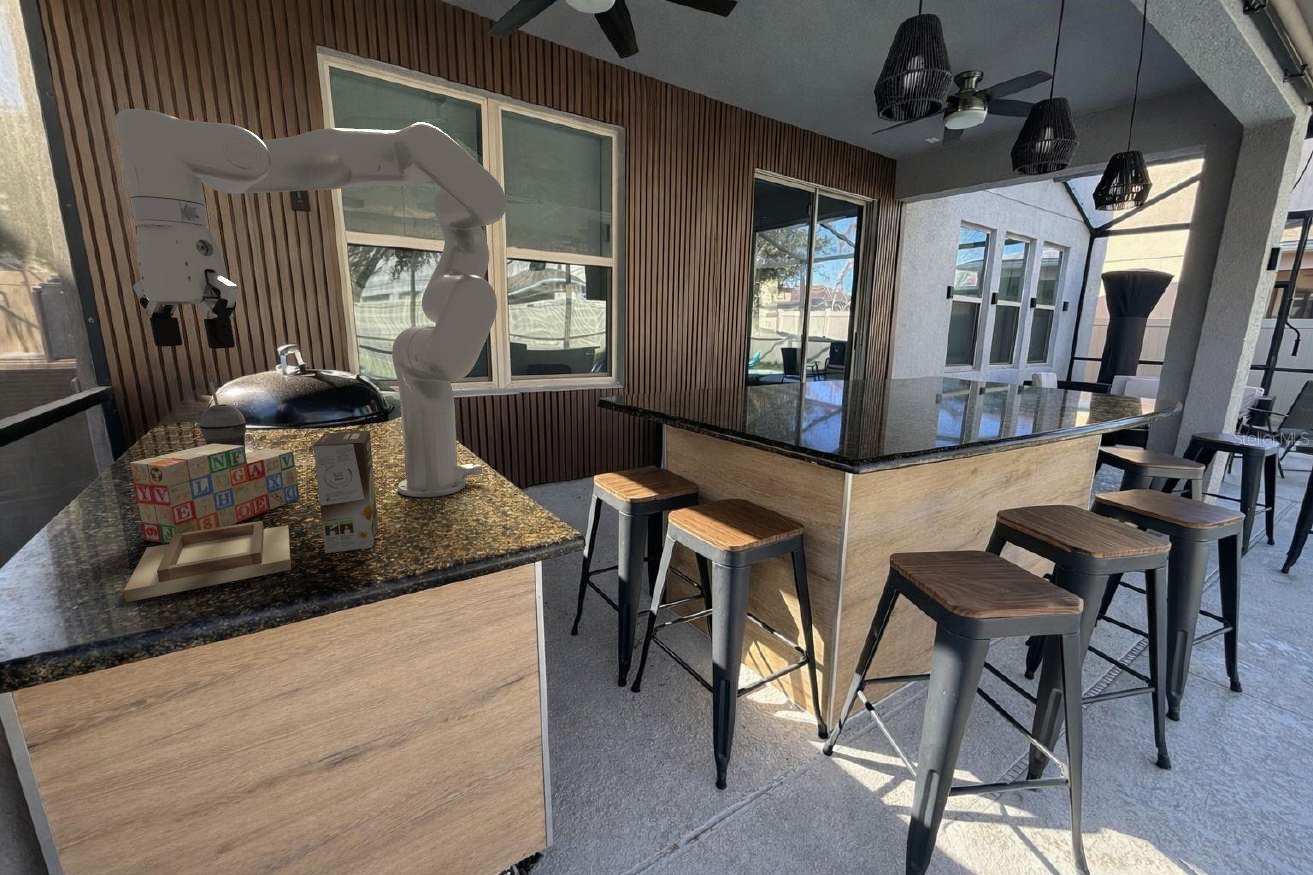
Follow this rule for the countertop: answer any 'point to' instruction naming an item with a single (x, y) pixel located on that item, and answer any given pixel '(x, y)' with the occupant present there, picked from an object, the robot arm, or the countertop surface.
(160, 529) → the stack of blocks
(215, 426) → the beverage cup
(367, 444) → the coffee box
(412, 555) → the countertop surface
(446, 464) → the robot arm
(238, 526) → the base board
